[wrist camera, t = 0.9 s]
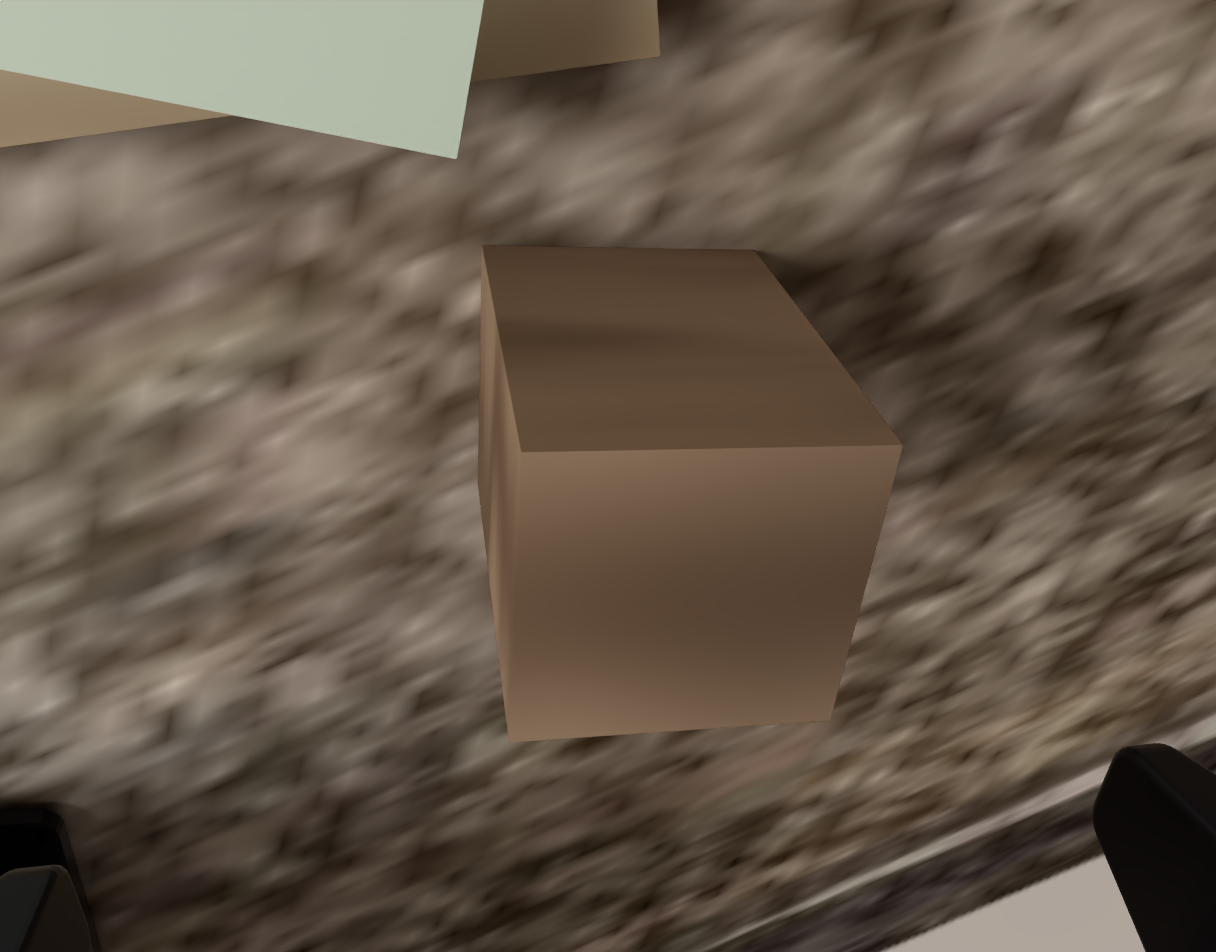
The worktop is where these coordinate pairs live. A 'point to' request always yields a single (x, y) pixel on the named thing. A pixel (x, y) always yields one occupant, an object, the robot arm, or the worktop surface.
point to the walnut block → (668, 492)
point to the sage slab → (266, 59)
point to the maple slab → (506, 47)
